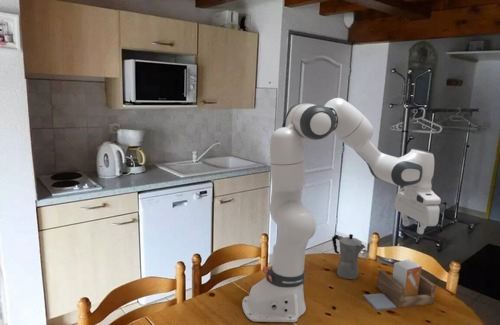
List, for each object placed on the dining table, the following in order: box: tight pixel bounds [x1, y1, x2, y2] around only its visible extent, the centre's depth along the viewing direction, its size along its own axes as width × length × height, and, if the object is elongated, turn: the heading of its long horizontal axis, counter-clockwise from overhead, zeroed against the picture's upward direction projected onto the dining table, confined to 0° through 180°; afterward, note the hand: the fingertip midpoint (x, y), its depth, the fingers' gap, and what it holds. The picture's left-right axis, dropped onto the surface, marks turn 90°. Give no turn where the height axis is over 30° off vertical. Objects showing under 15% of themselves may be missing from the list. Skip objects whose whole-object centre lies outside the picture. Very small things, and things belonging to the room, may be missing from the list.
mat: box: [362, 292, 398, 311], centre depth 133 cm, size 8×9×1 cm
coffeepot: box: [331, 233, 366, 280], centre depth 153 cm, size 15×9×18 cm, turn 44°
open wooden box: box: [376, 269, 437, 308], centre depth 138 cm, size 15×14×8 cm
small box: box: [391, 259, 423, 297], centre depth 138 cm, size 8×6×13 cm
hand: (412, 229), depth 134 cm, fingers open, 7 cm apart
